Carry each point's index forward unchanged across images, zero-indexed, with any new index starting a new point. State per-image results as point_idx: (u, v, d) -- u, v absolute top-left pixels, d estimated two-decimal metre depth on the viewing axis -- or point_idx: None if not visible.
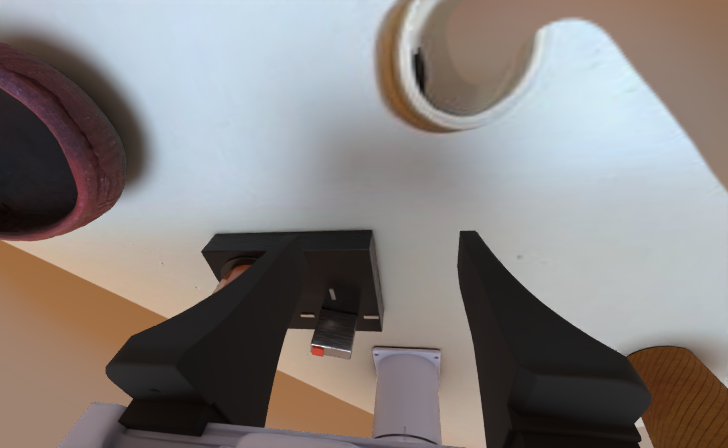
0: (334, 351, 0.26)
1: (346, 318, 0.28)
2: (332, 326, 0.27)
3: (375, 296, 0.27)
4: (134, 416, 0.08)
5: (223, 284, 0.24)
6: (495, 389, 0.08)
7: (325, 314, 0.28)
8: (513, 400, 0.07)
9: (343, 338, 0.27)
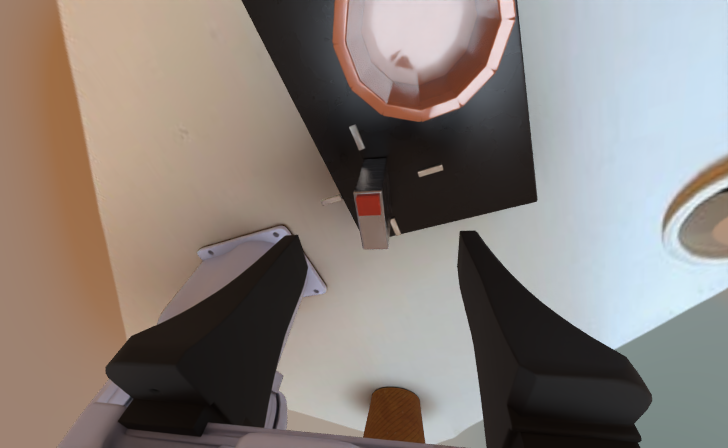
0: (377, 227, 0.15)
1: (390, 201, 0.18)
2: (387, 195, 0.16)
3: (440, 223, 0.19)
4: (134, 416, 0.08)
5: None
6: (495, 389, 0.08)
7: (387, 171, 0.17)
8: (513, 400, 0.07)
9: (388, 222, 0.16)
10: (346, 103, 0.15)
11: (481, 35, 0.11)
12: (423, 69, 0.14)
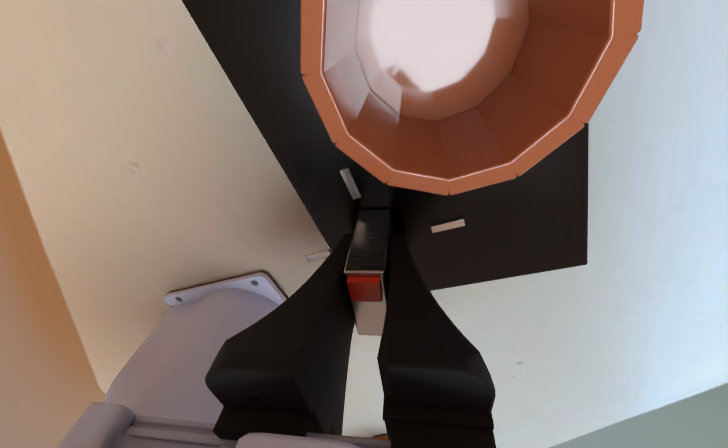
0: (376, 313, 0.11)
1: None
2: None
3: (458, 285, 0.15)
4: (229, 425, 0.07)
5: None
6: None
7: (390, 227, 0.13)
8: (386, 391, 0.07)
9: None
10: None
11: (547, 57, 0.07)
12: (444, 100, 0.09)
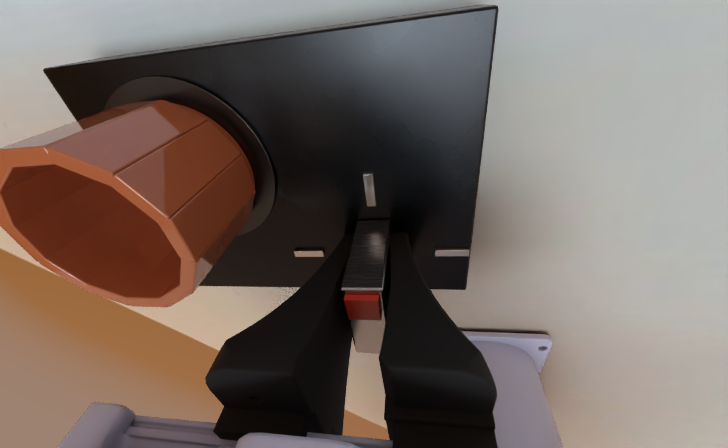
0: (375, 331, 0.10)
1: None
2: (390, 275, 0.12)
3: (474, 192, 0.11)
4: (230, 425, 0.07)
5: None
6: None
7: None
8: (387, 391, 0.07)
9: None
10: (271, 249, 0.14)
11: None
12: None
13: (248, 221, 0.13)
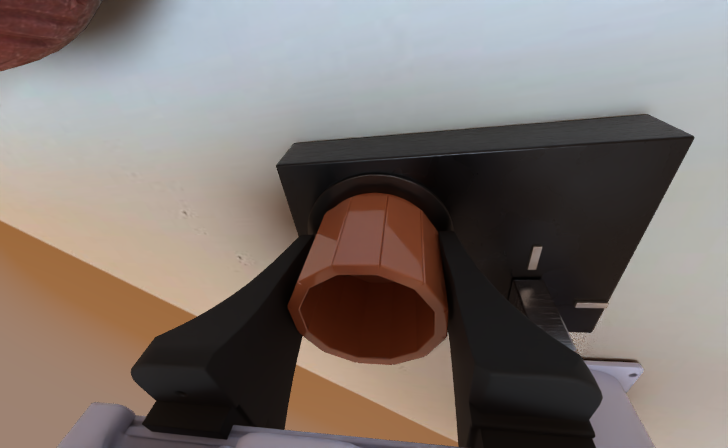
0: None
1: None
2: None
3: (627, 261, 0.13)
4: (158, 418, 0.08)
5: (338, 226, 0.11)
6: (462, 387, 0.08)
7: None
8: (473, 397, 0.07)
9: None
10: None
11: None
12: None
13: None
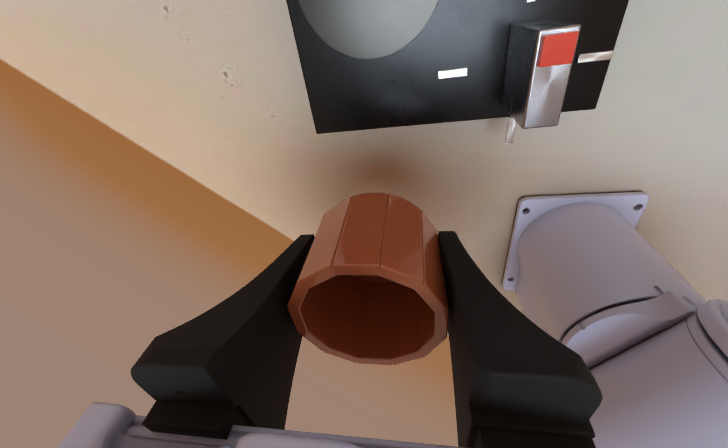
0: (554, 90, 0.12)
1: None
2: None
3: None
4: (158, 418, 0.08)
5: (338, 226, 0.11)
6: (462, 387, 0.08)
7: None
8: (473, 397, 0.07)
9: None
10: (415, 74, 0.15)
11: None
12: None
13: (404, 34, 0.14)
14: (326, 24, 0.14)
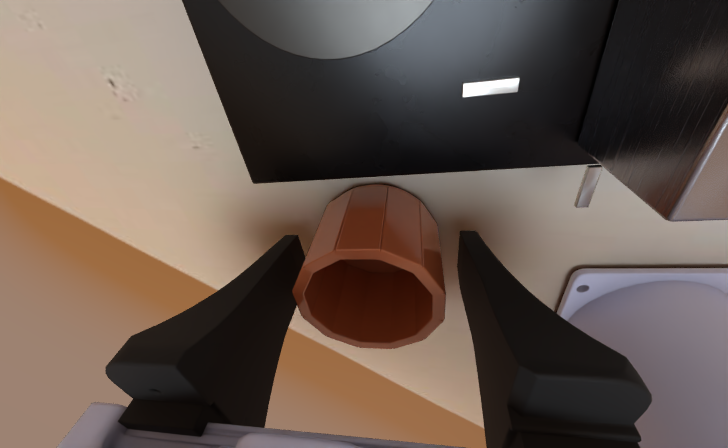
0: None
1: None
2: None
3: None
4: (134, 416, 0.08)
5: (340, 214, 0.11)
6: (495, 389, 0.08)
7: None
8: (513, 400, 0.07)
9: None
10: (418, 88, 0.08)
11: None
12: None
13: (398, 10, 0.07)
14: None
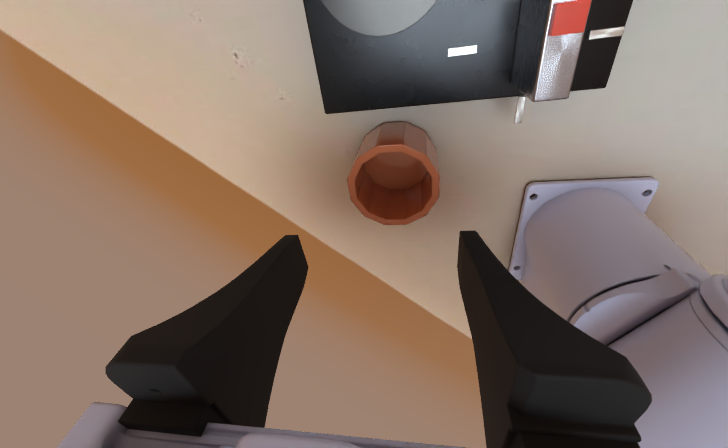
0: (565, 60, 0.12)
1: None
2: None
3: None
4: (134, 416, 0.08)
5: (376, 135, 0.19)
6: (495, 389, 0.08)
7: None
8: (513, 400, 0.07)
9: None
10: (424, 52, 0.15)
11: None
12: (421, 162, 0.21)
13: (415, 10, 0.14)
14: (337, 0, 0.15)
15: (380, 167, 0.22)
